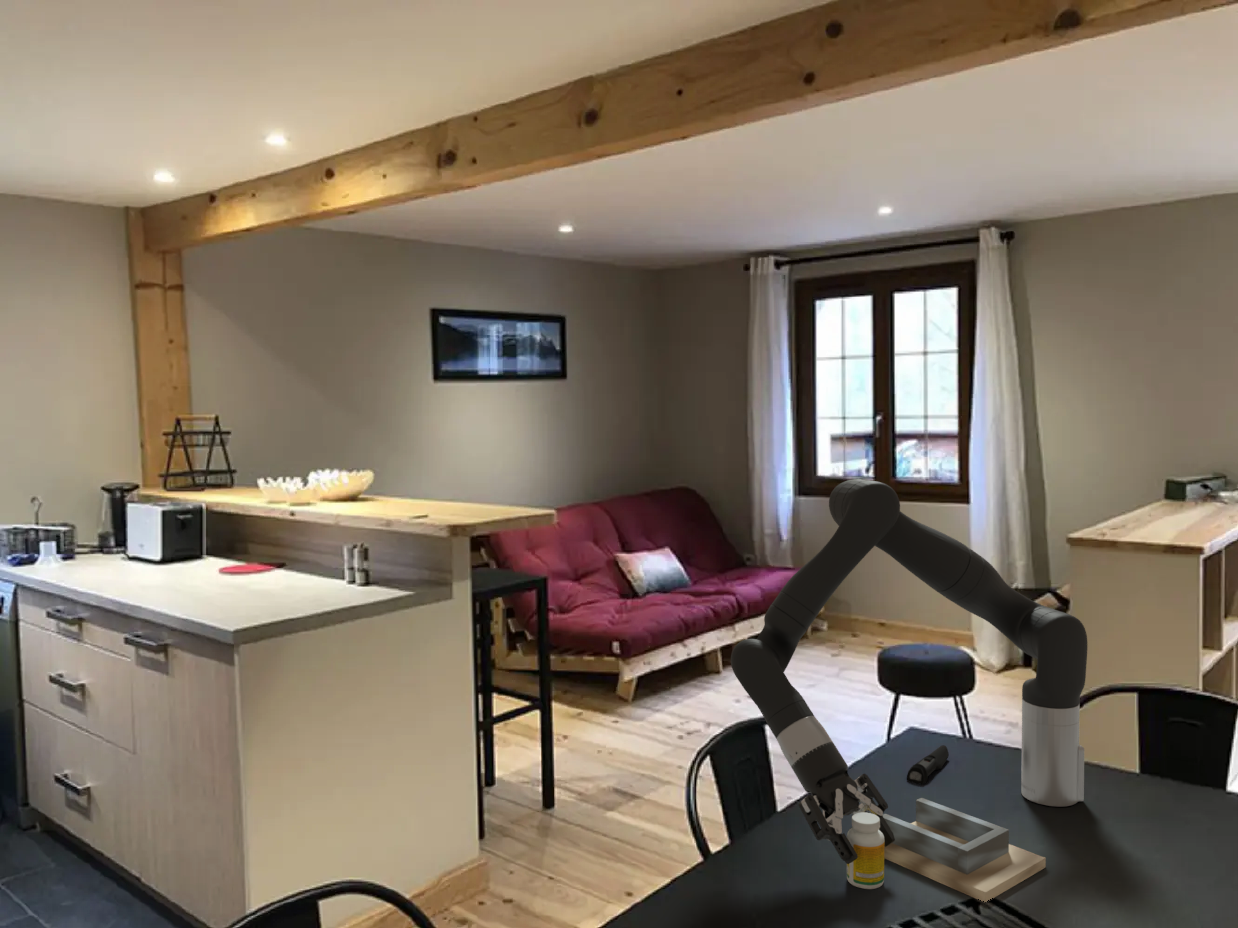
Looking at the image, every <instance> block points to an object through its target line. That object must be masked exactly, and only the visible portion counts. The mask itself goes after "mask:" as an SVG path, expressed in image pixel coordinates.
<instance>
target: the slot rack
mask: <svg viewBox="0 0 1238 928" xmlns="http://www.w3.org/2000/svg"><path fill="white" fill-rule="evenodd" d="M883 818H884V820H885V821H886V823H887V824H888V826H889V827H890V829H891V831H892V832H893V834H894V838H895V841H894V842H893V843H891V844H890V845H888V846H886V847H884V860H887V861H890V862H892V863H894V864H897V865H898V866H901V867H903V868H905V869H908V870H910V871H912V872H915V873H917V874H919V875H921V876H924V877H926V878H929V879H931V880H933V881H934V882H937V883H940V884H941V885H944V886H947V887H949V888H951V889H953V890H955V891H958V892H959V893H962V894H964V895H967V896H969V897H971V898H972V899H973V898H974V899H976V900H978V899H979V900H978V901H980V900H981V902H983V901H984V902H983V903H985V902H986V903H987V901H988V900H989V901H991V900H993V899H995V898H996V897H998V896H999V895H1001V894H1003V893H1004V892H1007V891H1008V890H1009V889H1012V888H1014V887H1015V886H1017V885H1018V884H1020V883H1021V882H1023V881H1024V880H1027V879H1028V878H1030V877H1032V876H1033V875H1035V874H1037V873H1039V872H1040V871H1042V870H1043V869H1045V868H1046V864H1047V863H1046V861H1047V860H1046V857H1045V856H1041V855H1039V854H1036V853H1034V852H1031V851H1028V850H1026V849H1023V848H1021V847H1018V846H1015V845H1013V844H1010V843H1009V842H1010V830H1009V829H1008V828H1005V827H1002V826H1001V825H1000V826H999V825H997V824H994V823H991V822H989V821H986V820H983V819H981V818H978V817H975V816H972V815H970V814H968V813H964V812H962V811H959V810H956V809H953V808H951V807H948V806H946V805H943V804H939V803H937V802H934V801H932V800H929V799H926V798H924V797H920V798H918V799H916V800H915V821H913V822H908V821H906V820H905V821H904V820H902V819H900V818H898V817H896V816H892V815H891V814H887V813H883ZM992 898H993V899H992ZM990 899H991V900H990ZM989 901H988V902H989Z"/></svg>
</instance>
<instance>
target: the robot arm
mask: <svg viewBox="0 0 1238 928" xmlns="http://www.w3.org/2000/svg"><path fill="white" fill-rule="evenodd" d="M898 496H899V495H898V494H897V492H896V491H895V489H893V488H892V487H891V486H890V485H888V484H887V483H884V482H880V481H877V480H876V481H875V480H869V479H863V478H862V479H860V478H859V479H848V480H846V481H843V482H841V483H838V484H837V485H836V486H835V487H834V489H832V491H831V493H830V495H829V497H828V498H829V500H828V507H829V508H828V509H829V512H830V515H831V517H832V519H833V521H834V523H836V524H837V526H838V528H837V529H836V531H835V533H834V534H833V535H832V536H831V538H830V539H829V540H828V542H827V543H826V544H825V545H824V546H823V547H822V548H821V550H820V551H819V552H818V553H816V554H815V556H813V557H812V558H811V559H810V560H809V561H807V562H806V563H805V564H804V565H803V566H802V567H801V568H800V569H798V570H797V571H796V572H795V573H794V574H793V575H792V577H791V578H789V580H788V581H787V582H786V584H785V585H784V586H783V587H782V588H781V590H780V592H779V593H778V594H777V596H776V597H775V599H774V600H773V602H772V603H771V604H770V605H769V607H768V609H767V610H766V612H765V614H764V618H763V621H764V625H763V628H762V629H761V631H760V633H759V635H758V636H757V638H746V639H743V640H741V641H739V642H738V643H737V644H736V645H735V646H734V647H733V649H732V651H731V655H730V665H731V668H732V669H731V670H732V671H733V673H734V675H735V678H736V679H737V681H738V683H740V685H741V686H742V688H743V689H744V690H745V692H746V693H747V695H748V696H749V698H750V699H751V700H752V701H753V703H754V704H755V706H757V708H758V710H759V711H760V713H761V714H762V717H763V719H764V721H765V723H766V725H767V726H768V728H769V729H770V731H771V733H772V734H773V736H774V738H775V739H776V741H777V743H778V745H779V748H780V750H781V752H782V754H783V756H784V758H785V759H786V761H787V762H788V764H789V766H790V768H791V769H792V771H793V772H794V775H795V776H796V778H797V780H798V781H799V783H800V785H801V787H802V788H803V790H804V791H805V792H806V793H808V794H807V796H805V797H804V798H803V799H802V800H801V801H800V802H798V807H799V808H800V811H801V812H802V815H803V816H804V819H805V820H806V823H807V824H808V826H809V827H810V830H811V832H812V834H813V835H814V837H815V839H816V840H818V841H822V840H827V841H829V842H831V844H832V845H833V847H834V848H835V850H836V852H837V853H838V855H839V857H840V858H841V860H842V861H843V862H845V864H846V865H847V864H849V863H852V862H853V861H854V860H856V859H857V857H858V856H857V853H856V852H855V850H854V848H853V847H852V845H851V843H850V842H849V840H848V839H847V834H845V832H843V830H842V829H843V827H842V826H843V825H842V821H843V818H844V817H846V816H850V815H854V814H856V813H861V812H866V813H872V814H875V815H877V816H878V817H879V818H880V828H879V830H880V831H881V832H882V833H883V835H884V840H885V845H884V847H886V846H888V845H890V844H891V843H893V842H894V841H895V838H894V834H893V832H892V831H891V829H890V827H889V826H888V824H887V823H886V821H885V820H884V818H883V814H885V812H886V810H887V809H888V808H889V805H888V803H887V801H886V800H885V799H884V797H883V796H882V794H881V793H880V791H879V790H878V788H877V787H876V786H875V784H874V783H873V781H872V780H871V778H870V777H869V776H868V774H866V773H862V774H861V775H859V776H858V777H857V778H856V779H853V778H852V777H851V776H850V775H849V772H848V770H849V766H848V764H847V762H846V761H845V759H844V758H843V756H842V755H841V753H840V751H839V749H838V748H837V746H836V745H835V743H834V741H833V740H832V738H831V737H830V735H829V733H828V732H827V730H826V729H825V728H824V726H823V725H822V724H821V723H820V722H819V720H818V718H817V717H816V716H815V715H814V713H813V711H812V710H811V708H810V706H809V705H808V704H807V702H806V700H805V699H804V697H803V696H802V695H801V693H800V692H799V691H798V690H797V689H796V688H795V687H794V686H793V685H792V684H791V682H790V681H789V679H788V677H787V676H786V674H785V671H786V669H787V668H788V666H789V663H790V662H791V660H792V657H793V656H794V653H795V651H796V649H797V647H798V644H799V642H800V640H801V639H802V637H803V636H804V635H805V633H806V632H807V630H808V629H810V627H811V626H812V624H813V622H814V621H815V620H816V617H818V615H819V614H820V613H821V611H822V609H823V608H824V606H825V605H826V604H827V602H828V601H829V600H830V598H831V597H832V595H834V593H835V592H836V590H837V589H838V588H839V587H840V585H841V584H842V583H843V582H844V580H845V579H846V578H847V577H848V576H849V575H850V573H851V572H852V571H853V570H854V569H855V568H856V567H857V566H858V564H860V562H861V561H862V560H863V559H864V558H865V557H866V556H867V555H868V553H870V551H871V550H872V549H873V548H874V547H875V548H876V547H877V549H879V550H881V551H882V552H884V553H886V554H887V555H888V556H889V557H891V558H893V559H894V560H895V561H896V562H898V563H899V564H900V565H901V566H902V567H904V568H905V569H906V570H907V571H909V572H910V573H911V574H913V575H914V576H915V577H917V578H918V579H919V580H921V581H922V582H923V583H925V584H926V585H927V586H929V587H930V588H931V589H933V590H934V591H935V592H937V593H938V594H940V595H942V596H943V597H944V598H946V599H947V600H949V601H950V602H952V603H954V604H956V605H957V606H959V607H960V608H962V609H964V610H965V611H967V612H969V613H971V614H973V615H975V616H976V617H979V618H981V619H982V620H985V621H986V622H987V623H989V624H991V625H992V626H993V627H994V628H995V629H996V630H998V631H999V632H1000V633H1001V634H1003V635H1004V636H1005V637H1006V638H1007V639H1008V640H1009V641H1010V642H1012V644H1014V645H1015V646H1016V647H1017V648H1018V649H1019V650H1021V651H1022V652H1023V653H1024V654H1026V655H1028V656H1029V657H1032V658H1034V659H1036V660H1037V661H1036V662H1037V664H1036V673H1035V674H1036V675H1035V677H1034V678H1029V679H1027V680H1025V681H1024V682H1023V683H1022V688H1021V689H1022V690H1021V763H1020V765H1021V770H1020V774H1021V778H1020V780H1021V781H1020V785H1021V790H1020V791H1021V793H1020V794H1021V795H1022V796H1023V798H1025V799H1027V800H1029V801H1030V802H1033V803H1036V804H1039V805H1043V806H1049V807H1070V806H1073V805H1076V804H1077V803H1078V802H1084V800H1085V799H1084V798H1085V797H1084V794H1085V789H1084V788H1085V748H1084V747H1083V745H1081V744H1080V707H1081V706H1080V705H1081V704H1080V701H1081V700H1080V699H1081V694H1082V692H1083V690H1084V688H1085V685H1086V677H1087V675H1086V674H1087V661H1088V635H1087V631H1086V627H1085V626H1084V623H1082V621H1081V620H1079V618H1078V617H1076V616H1074V615H1071V614H1069V613H1066V612H1064V611H1060V610H1057V609H1054V608H1052V607H1049V606H1045V605H1042V604H1041V603H1038V602H1036V601H1035V600H1032V599H1030V598H1028V597H1027V596H1025V595H1023V594H1021V593H1020V592H1019V591H1017V590H1015V589H1014V588H1012V587H1011V586H1010V585H1009V584H1008V583H1007V582H1005V580H1004V579H1003V577H1002V576H1001V574H1000V573H999V572H998V571H997V570H996V568H995V567H994V566H993V565H992V564H991V563H990V562H989V561H988V560H987V559H986V558H984V557H983V556H981V555H980V554H978V553H977V552H976V551H974V550H973V549H971V548H970V547H968V546H967V545H966V544H964V543H962V542H960V541H959V540H958V539H956V538H953V537H952V536H950V535H947V534H945V533H943V532H941V531H940V530H937V529H936V528H932V527H931V526H928V525H926V524H923V523H921V522H918V521H917V520H915V519H913V518H911V517H909V516H908V515H907V514H905V513H903V512H902V511H901V504H900V499H899V497H898ZM876 803H877V804H876Z"/></svg>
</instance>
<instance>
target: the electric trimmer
mask: <svg viewBox="0 0 1238 928" xmlns="http://www.w3.org/2000/svg"><path fill="white" fill-rule="evenodd" d="M948 758H949V749H948V747H947V746H946V745H940V746H939V747H937V748H936V749H935V750H933V751H931V753H929V754H927V756H925V757H923V758H921V759H920V760H918V761H917V762H915V764H913V765H912V766H911V767H910V768H909V770H908V772H907V774H906V781H907V782H909V783H913V784H917V785H923V784H924V785H925V784H926V783H927V782H928V778H929V776H931V774H932V773H933V772H935V771H938V770H941V769H942V768H943V766H944V765H945V764H946V762H947V760H948Z"/></svg>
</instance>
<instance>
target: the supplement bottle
mask: <svg viewBox="0 0 1238 928" xmlns="http://www.w3.org/2000/svg"><path fill="white" fill-rule="evenodd" d="M851 826H852V827H851V828H849V829H848V831H847V833H846V837H847V839H848V840H849V842H850V843H851V845H852V847H853V848H854V850H855V852H856V853H857V856H858V857H857V859H856V860H854V861H853V862H852V863H849V864H847V863H846V879H847V881H848V882H849V884H851V886H853V887H857V888H860V889H863V890H874V889H878V888H880V887H881V886H883V884H884V882H885V858H884V845H885V840H884V835H883V833H882V832H881V831H880V830H879V828H880V818H879V817H878V816H877V815H875V814H872V813H871V812H869V813H866V812H861V813H856V814H852V816H851Z"/></svg>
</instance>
